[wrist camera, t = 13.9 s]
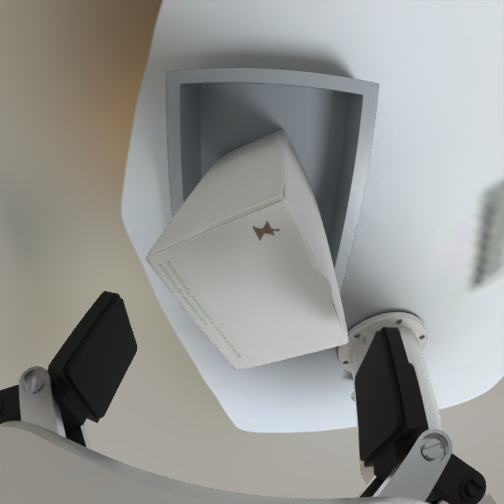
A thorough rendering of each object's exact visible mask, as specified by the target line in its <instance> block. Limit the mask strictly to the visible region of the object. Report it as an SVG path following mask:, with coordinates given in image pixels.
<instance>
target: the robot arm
mask: <svg viewBox="0 0 504 504" xmlns="http://www.w3.org/2000/svg"><path fill="white" fill-rule="evenodd" d="M348 340H349V342H348V343H347V344H344V345H340V346H339V349H338V356H339V362H340V364H341V365H342V367H343V368H344V369H345V370H346V371H348V372H350V373H352V375H353V384H354V391H353V393H352V394H351V398H352V400H353V401H355V403H356V415H357V427H358V441H359V460H360V471H361V475H362V477H363V479H364V481H365V482H366V484H367V485H366V487H365V488H364V489H363V490H362V491H361V492H360V494H359V495H358V496H357V497H356V498H341V499H340V498H339V499H305V498H283V497H282V498H281V497H269V496H260V495H251V494H243V493H237V492H230V491H224V490H218V489H213V488H208V487H203V486H199V485H194V484H190V483H186V482H181V481H178V480H174V479H171V478H167V477H164V476H160V475H157V474H154V473H151V472H147V471H144V470H142V469H139V468H136V467H132V466H130V465H127V464H124V463H122V462H119V461H117V460H114V459H112V458H109V457H107V456H105V455H102V454H100V453H98V452H95V451H93V450H92V449H91V446H90V443H89V440H88V436H87V433H86V429H85V425H84V422H85V420H86V418H87V419H90V420H92V421H94V422H96V423H97V422H98V421H99V419H100V418H102V417H103V416H104V415H105V413H106V411H107V409H108V407H109V405H110V403H111V401H112V399H113V397H114V395H115V393H116V391H117V389H118V387H119V385H120V383H121V381H122V379H123V377H124V375H125V373H126V371H127V369H128V367H129V365H130V363H131V361H132V360H133V358H134V356H135V354H136V351H137V344H136V340H135V338H134V334H133V331H132V328H131V325H130V322H129V318H128V315H127V312H126V309H125V305H124V301H123V299H122V298H120V296H119V294H116V293H112V292H107V291H104V292H103V293H102V294H101V295H100V296H99V298H98V299H97V300H96V302H95V303H94V304H93V305H92V307H91V308H90V309H89V310H88V312H87V313H86V314H85V316H84V317H83V318H82V320H81V321H80V322H79V324H78V325H77V326H76V328H75V329H74V330H73V332H72V333H71V335H70V336H69V337H68V339H67V340H66V342H65V343H64V344H63V346H62V347H61V349H60V350H59V351H58V353H57V354H56V356H55V357H54V359H53V360H52V362H51V363H50V365H49V366H48V367H49V369H48V370H47V371H46V369H44V368H43V367H39V366H35V367H31V368H29V369H28V370H26V371H25V372H24V373H23V374H22V375H21V378H20V380H19V385H16V386H13V387H10V388H6V389H3V390H0V504H496V503H495V501H494V500H493V498H492V497H491V495H490V494H487V495H486V494H485V491H486V482H485V479H484V477H483V476H482V475H481V474H480V473H479V472H478V471H476V470H475V469H473V468H472V467H470V466H469V465H468V464H466V463H465V462H463V461H462V460H461V459H459V458H458V457H456V456H455V455H453V454H452V443H451V440H450V438H449V437H448V435H447V434H446V433H444V432H443V428H442V423H441V419H440V415H439V411H438V407H437V403H436V399H435V395H434V391H433V388H432V384H431V381H430V377H429V374H428V370H427V367H426V364H425V361H424V358H423V355H422V350H423V349H424V347H425V345H426V341H427V331H426V328H425V326H424V324H423V322H422V321H421V320H420V319H419V318H418V317H416V316H414V315H413V314H409V313H405V312H389V313H384V314H379V315H376V316H373V317H370V318H368V319H366V320H364V321H362V322H360V323H359V324H357V325H356V326H354V327H353V328H352V329H351V330H350V331H349V332H348Z"/></svg>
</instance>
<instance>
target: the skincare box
mask: <svg viewBox="0 0 504 504" xmlns="http://www.w3.org/2000/svg"><path fill="white" fill-rule="evenodd" d="M145 258H146V260H147V261H148V263H149V264H150V266H151V267H152V268H153V270H154V271H155V272H156V273H157V275H158V276H159V277H160V279H161V280H162V281H163V283H164V284H165V285H166V286H167V288H168V289H169V290H170V292H171V293H172V294H173V296H174V297H175V298H176V299H177V301H178V302H179V303H180V304H181V306H182V307H183V308H184V309H185V311H186V312H187V313H188V314H189V316H190V317H191V318H192V319H193V321H194V322H195V323H196V324H197V325H198V327H199V328H200V329H201V330H202V332H203V333H204V334H205V335H206V336H207V337H208V339H209V340H210V341H211V342H212V343H213V345H214V346H215V347H216V348H217V349H218V350H219V352H220V353H221V354H222V355H223V356H224V357H225V358H226V360H227V361H228V362H229V363H230V364H231V365H232V366H233V368H234V369H236V370H239V369H245V368H251V367H255V366H260V365H265V364H269V363H273V362H277V361H281V360H285V359H289V358H293V357H297V356H301V355H305V354H309V353H313V352H317V351H321V350H325V349H329V348H333V347H336V346H340V345H344V344H347V343H348V342H349V340H348V331H347V326H346V321H345V316H344V311H343V306H342V302H341V297H340V293H339V288H338V283H337V279H336V275H335V271H334V266H333V262H332V258H331V253H330V249H329V245H328V241H327V238H326V234H325V230H324V226H323V222H322V218H321V214H320V210H319V206H318V203H317V201H316V198H315V195H314V193H313V190H312V188H311V185H310V183H309V180H308V178H307V176H306V173H305V171H304V169H303V167H302V165H301V162H300V160H299V158H298V156H297V154H296V152H295V150H294V148H293V146H292V144H291V142H290V140H289V138H288V136H287V134H286V132H285V131H284V130H279V131H276V132H273V133H271V134H269V135H266V136H264V137H261V138H259V139H257V140H255V141H252V142H250V143H248V144H246V145H244V146H241V147H239V148H237V149H235V150H233V151H231V152H229V153H227V154H225V155H223V156H221V157H219V158H218V159H217V160H216V162H215V163H214V164H213V165H212V167H211V168H210V169H209V170H208V172H207V173H206V174H205V176H204V177H203V178H202V179H201V181H200V182H199V183H198V185H197V186H196V187H195V189H194V190H193V191H192V193H191V194H190V195H189V197H188V198H187V199H186V201H185V202H184V204H183V205H182V206H181V207H180V209H179V210H178V212H177V213H176V214H175V216H174V217H173V218H172V220H171V221H170V223H169V224H168V226H167V227H166V228H165V230H164V231H163V233H162V235H161V236H160V237H159V239H158V240H157V241H156V243H155V244H154V246H153V247H152V249H151V250H150V252H149V253H148V255H147V256H146V257H145Z"/></svg>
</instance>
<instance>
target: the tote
mask: <svg viewBox="0 0 504 504" xmlns="http://www.w3.org/2000/svg"><path fill="white" fill-rule="evenodd" d="M378 91H379V84H378V83H373V82H369V81H364V80H359V79H353V78H347V77H341V76H335V75H328V74H321V73H313V72H304V71H294V70H281V69H263V68H205V69H187V70H175V71H166V114H167V145H168V165H169V181H170V195H171V207H172V218H173V217H174V216H175V214H176V213H177V212H178V210H179V209H180V207H181V206H182V205H183V204H184V202H185V201H186V199H187V198H188V197H189V195H190V194H191V193H192V191H193V190H194V189H195V187H196V186H197V185H198V183H199V182H200V181H201V179H202V178H203V177H204V176H205V174H206V173H207V172H208V170H209V169H210V168H211V167H212V165H213V164H214V163H215V162H216V160H217V159H218V158H219V157H221V156H223V155H225V154H227V153H229V152H231V151H233V150H235V149H237V148H239V147H241V146H244V145H246V144H248V143H250V142H252V141H255V140H257V139H259V138H261V137H264V136H266V135H269V134H271V133H273V132H276V131H279V130H284V131H285V132H286V134H287V136H288V138H289V140H290V142H291V144H292V146H293V148H294V150H295V152H296V154H297V156H298V158H299V160H300V162H301V165H302V167H303V169H304V171H305V173H306V176H307V178H308V180H309V183H310V185H311V188H312V190H313V193H314V195H315V198H316V201H317V203H318V206H319V210H320V214H321V218H322V222H323V226H324V230H325V234H326V238H327V241H328V245H329V249H330V253H331V258H332V262H333V266H334V271H335V275H336V279H337V283H338V288H339V293H340V292H341V288H342V285H343V281H344V277H345V273H346V270H347V266H348V262H349V258H350V254H351V250H352V246H353V241H354V237H355V233H356V228H357V224H358V219H359V214H360V209H361V205H362V200H363V194H364V189H365V184H366V178H367V173H368V167H369V161H370V154H371V148H372V141H373V134H374V126H375V118H376V110H377V101H378Z"/></svg>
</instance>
